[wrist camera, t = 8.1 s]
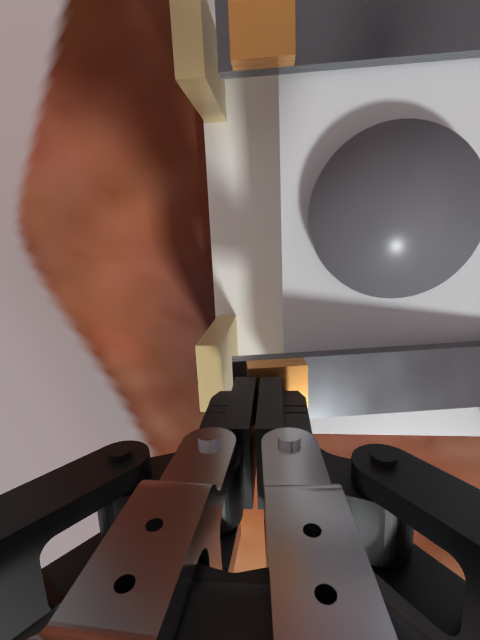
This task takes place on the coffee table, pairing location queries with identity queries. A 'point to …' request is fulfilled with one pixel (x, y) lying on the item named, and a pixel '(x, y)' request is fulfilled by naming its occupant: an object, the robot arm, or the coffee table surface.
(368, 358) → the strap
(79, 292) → the coffee table surface
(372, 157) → the base
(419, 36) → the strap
